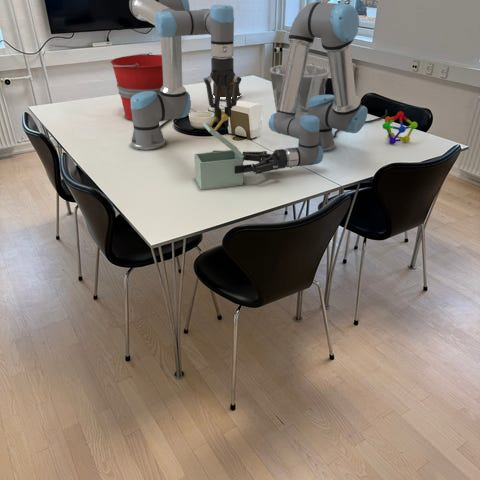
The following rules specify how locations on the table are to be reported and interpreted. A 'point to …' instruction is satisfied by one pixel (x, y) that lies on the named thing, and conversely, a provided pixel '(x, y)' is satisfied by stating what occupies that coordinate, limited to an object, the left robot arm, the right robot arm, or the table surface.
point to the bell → (222, 91)
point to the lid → (219, 136)
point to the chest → (217, 169)
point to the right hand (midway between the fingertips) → (231, 164)
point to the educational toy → (398, 128)
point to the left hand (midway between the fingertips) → (222, 125)
